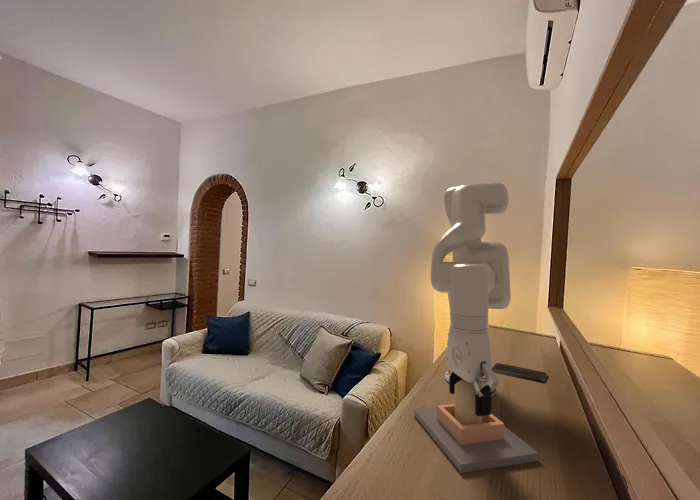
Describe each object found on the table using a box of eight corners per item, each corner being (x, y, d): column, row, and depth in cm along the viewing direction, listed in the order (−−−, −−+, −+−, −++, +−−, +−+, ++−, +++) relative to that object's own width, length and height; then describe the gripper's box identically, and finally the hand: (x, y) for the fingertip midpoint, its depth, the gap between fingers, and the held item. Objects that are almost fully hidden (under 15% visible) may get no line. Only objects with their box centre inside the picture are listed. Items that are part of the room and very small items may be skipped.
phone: (544, 380, 94) (490, 368, 103) (544, 384, 94) (490, 372, 103) (547, 372, 100) (496, 362, 109) (547, 376, 100) (496, 365, 109)
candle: (485, 436, 64) (485, 386, 64) (456, 433, 65) (456, 384, 65) (479, 422, 69) (479, 376, 69) (453, 419, 70) (453, 374, 70)
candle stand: (414, 415, 75) (414, 396, 75) (474, 408, 78) (474, 390, 78) (460, 473, 55) (460, 447, 55) (538, 461, 59) (538, 436, 59)
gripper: (433, 314, 75) (433, 387, 74) (478, 333, 58) (477, 427, 58) (462, 313, 76) (462, 385, 76) (513, 331, 59) (513, 423, 59)
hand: (468, 403), depth 67 cm, fingers open, 9 cm apart
